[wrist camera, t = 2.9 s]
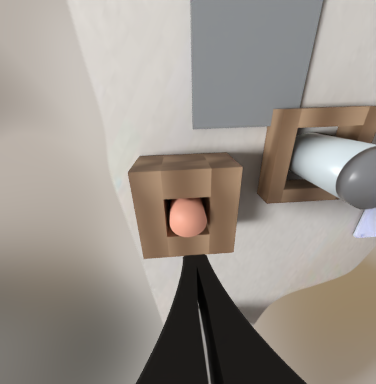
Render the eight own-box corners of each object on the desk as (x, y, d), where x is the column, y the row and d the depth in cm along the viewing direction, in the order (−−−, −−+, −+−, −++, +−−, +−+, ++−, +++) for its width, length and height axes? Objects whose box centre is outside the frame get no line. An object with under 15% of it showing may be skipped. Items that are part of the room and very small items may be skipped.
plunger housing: (226, 152, 19) (242, 167, 14) (221, 223, 22) (233, 252, 18) (139, 156, 18) (127, 172, 14) (150, 227, 22) (143, 258, 18)
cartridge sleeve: (359, 106, 17) (386, 105, 15) (330, 189, 21) (348, 198, 19) (270, 108, 17) (284, 109, 15) (256, 193, 21) (266, 203, 19)
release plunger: (199, 181, 19) (207, 205, 15) (199, 207, 20) (206, 236, 16) (169, 183, 19) (168, 207, 14) (171, 209, 20) (170, 238, 16)
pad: (321, -16, 13) (328, -21, 13) (291, 124, 18) (295, 125, 17) (190, -16, 13) (190, -22, 12) (192, 128, 17) (193, 129, 17)
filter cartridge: (329, 131, 18) (428, 147, 11) (317, 171, 20) (395, 207, 13) (288, 133, 18) (362, 150, 11) (279, 173, 20) (338, 211, 13)
